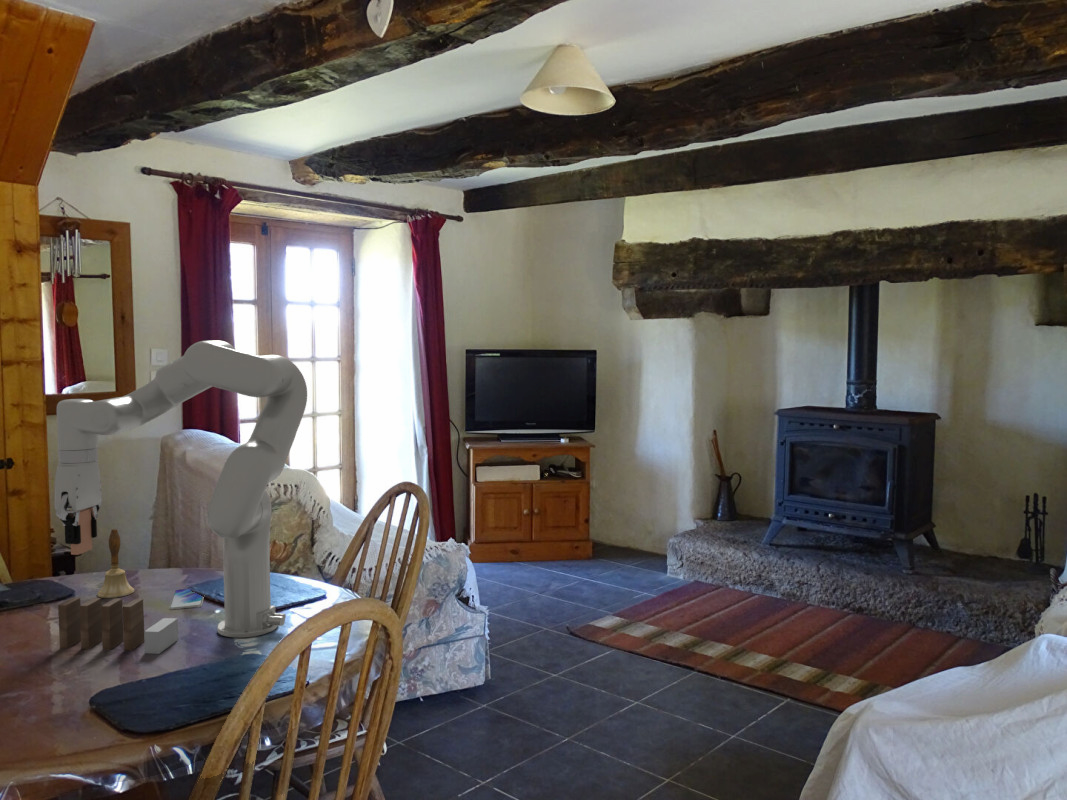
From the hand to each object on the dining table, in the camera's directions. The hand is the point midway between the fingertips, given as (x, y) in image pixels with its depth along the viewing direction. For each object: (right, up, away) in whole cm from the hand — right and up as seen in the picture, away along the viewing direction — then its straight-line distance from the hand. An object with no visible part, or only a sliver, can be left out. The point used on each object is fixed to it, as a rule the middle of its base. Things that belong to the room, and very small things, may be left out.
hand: (81, 539), depth 184 cm
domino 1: (+2, -20, -8) cm, 22 cm away
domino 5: (+16, -20, -9) cm, 27 cm away
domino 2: (0, -3, 0) cm, 3 cm away
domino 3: (+7, -20, -8) cm, 23 cm away
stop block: (+21, -20, -9) cm, 31 cm away
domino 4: (+11, -20, -9) cm, 25 cm away
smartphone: (+14, -19, +22) cm, 32 cm away
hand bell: (-5, -18, +26) cm, 32 cm away
